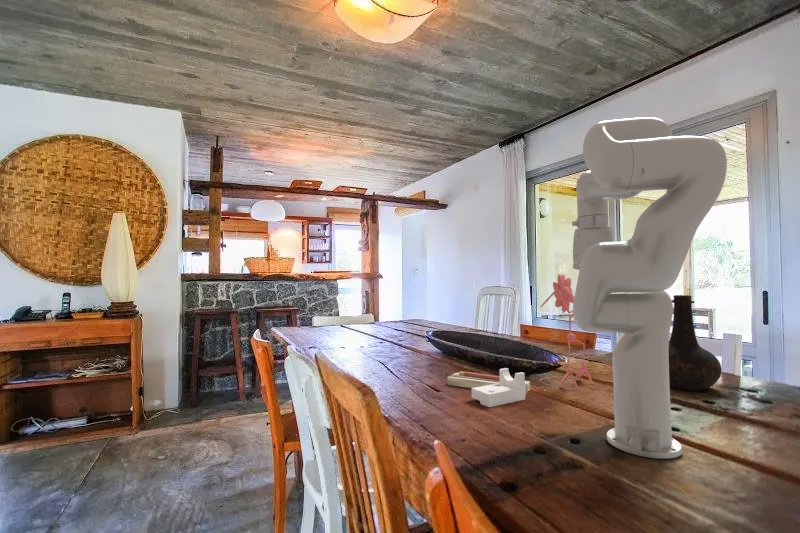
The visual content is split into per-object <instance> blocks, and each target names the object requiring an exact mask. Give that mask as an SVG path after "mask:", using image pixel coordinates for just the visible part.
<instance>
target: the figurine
mask: <svg viewBox="0 0 800 533" xmlns="http://www.w3.org/2000/svg"><path fill="white" fill-rule="evenodd" d="M571 286H572V278H570V277H567V278H566V275H565V274H561V273H560V274H559V273H558V275H557V281H553V282H552V287H553V292H552V293H551V294H550V295H549V296H548V297H547V298H546V300H544V302H543V303H542V304H541V305H540V306H539V308H542V307H544V305H545V304H546V303H548V301H549V300H550V299H551V298H552V297H554V298H555V301H554V302H555V303H554V306H555V307H556V308H561V311H562V313H564V314H565V313H566V312H567V314H570V315H569V318H568V328H569V329H568V334H567V335H566V340H567V342H568V344H567V345H568V354H567V355H568V357H567V358H568V359H567V360H568V361H567V362H568V363H567V370H566V373H565V374H564V376H563V378H562V380H561V381H560V383H559V385H558V386H559V387H561V385H562V384H563V383H564V381H565V380H566V379H567V377H569V375H570V377H571V379H572V382H573V384H574V386H575V388H576V389H577V390H580V388H579V386H578V384H577V382H576V379H575V378H574V376H573V373H572V372H571V370H572V367H570V358H571V356H570V354H571V343H573V342H577V343H580V344H581V345H583V354H582V355H583V356H582V366H580V367H579V369H578V371H577V372H576V375H575V376H576V378H577V380H580V378H582V376H583V375H584V374H585V373H586V375H587V377H588V378H589V381H590V383H591V385H594V381H593V379H592V377H591V375H590V373H589V372H588V363H585V355H586V354H585V351H586V350H585V349H586V344H585V343H583V342H582V341H580V340H579V339H578V340H577V336H576V335H575V334H574V333H572V332H571V327H572V326H571V324H572V318H573V309H572V310H570V304H573V302H574V296H575V295H574V293H573V289H572V287H571ZM571 313H572V314H571ZM556 377H557V375H556V376H555V375H554V376H552V378H556ZM546 378H550V376H547V377H542V380H543V379H546ZM599 380H600V381H602V379H600V378H599ZM540 381H541V379H539V380H538V382H537V383H538V385H540V386H541V384H540V383H539V382H540ZM603 381H606V380H605V379H603Z"/></svg>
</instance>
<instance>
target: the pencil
mask: <svg viewBox="0 0 800 533" xmlns="http://www.w3.org/2000/svg"><path fill="white" fill-rule="evenodd" d="M458 373H459V374H461V375H464V376H470V377H477V378H484V379H491V380H497V381H500V375H492V374H487V373H486V374H485V373H478V372H471V371H459V372H458Z"/></svg>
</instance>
